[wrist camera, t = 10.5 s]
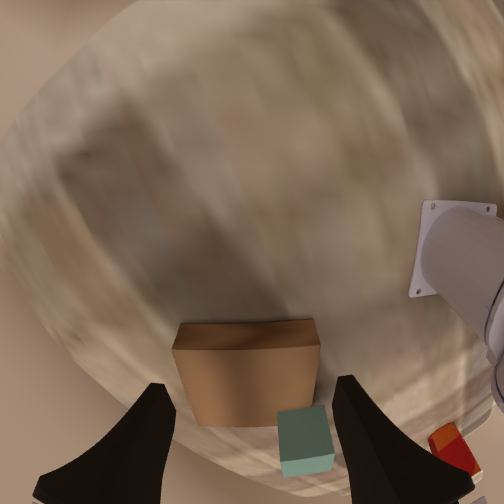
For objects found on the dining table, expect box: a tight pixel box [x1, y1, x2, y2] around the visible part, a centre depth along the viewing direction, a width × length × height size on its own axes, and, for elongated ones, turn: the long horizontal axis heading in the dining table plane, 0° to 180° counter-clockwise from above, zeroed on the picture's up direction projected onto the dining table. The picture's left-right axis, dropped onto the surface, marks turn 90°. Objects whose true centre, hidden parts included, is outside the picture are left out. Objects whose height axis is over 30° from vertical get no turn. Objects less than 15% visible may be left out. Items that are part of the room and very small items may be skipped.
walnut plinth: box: [172, 319, 321, 427], centre depth 20 cm, size 10×10×3 cm
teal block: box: [277, 405, 335, 477], centre depth 18 cm, size 4×4×5 cm
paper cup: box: [428, 423, 483, 484], centre depth 24 cm, size 8×8×14 cm
